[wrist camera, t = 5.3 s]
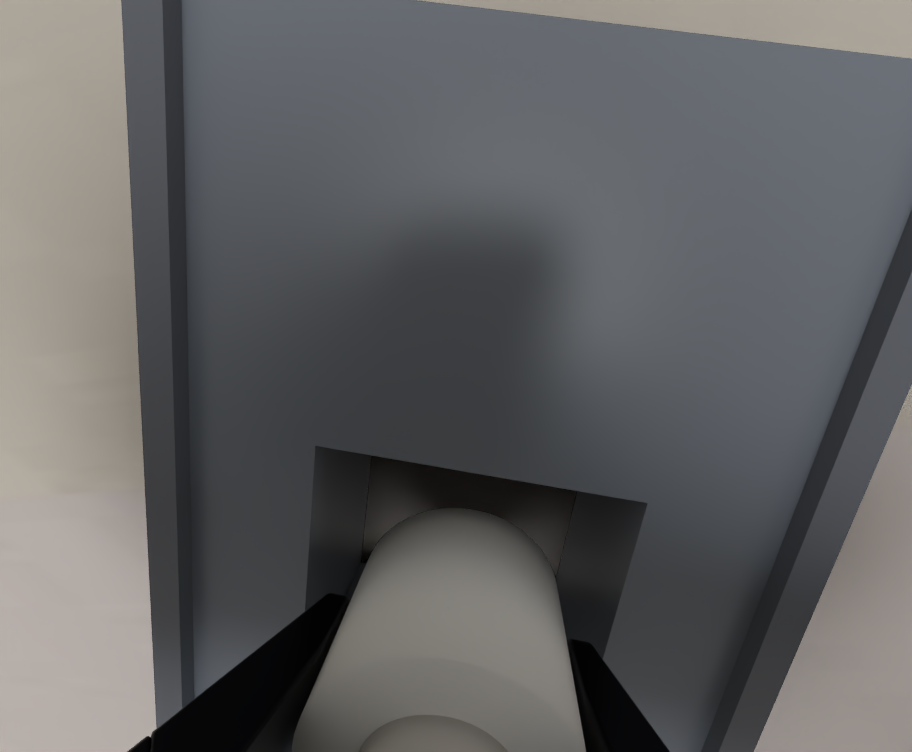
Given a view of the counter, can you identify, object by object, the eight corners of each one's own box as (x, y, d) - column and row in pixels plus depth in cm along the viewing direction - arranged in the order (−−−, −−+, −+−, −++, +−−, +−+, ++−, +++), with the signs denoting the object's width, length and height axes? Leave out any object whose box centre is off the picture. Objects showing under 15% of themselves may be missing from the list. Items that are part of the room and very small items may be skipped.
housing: (796, 149, 10) (1051, 58, 6) (571, 868, 17) (599, 1109, 12) (284, 83, 11) (119, -50, 6) (259, 800, 17) (170, 1003, 13)
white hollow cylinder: (577, 528, 9) (639, 747, 5) (536, 689, 10) (561, 972, 6) (373, 490, 9) (277, 672, 5) (355, 652, 10) (263, 904, 6)
